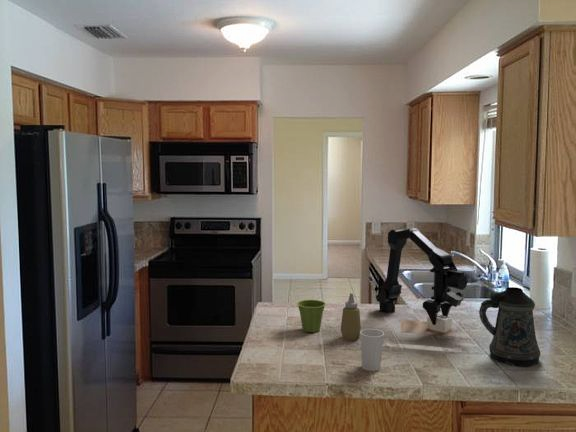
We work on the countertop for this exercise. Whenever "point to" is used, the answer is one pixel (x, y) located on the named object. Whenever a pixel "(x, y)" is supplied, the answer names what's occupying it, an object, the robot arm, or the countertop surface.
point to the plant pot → (311, 314)
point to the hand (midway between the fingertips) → (439, 322)
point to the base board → (421, 328)
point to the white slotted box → (440, 323)
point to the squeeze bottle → (351, 320)
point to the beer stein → (512, 328)
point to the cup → (371, 349)
